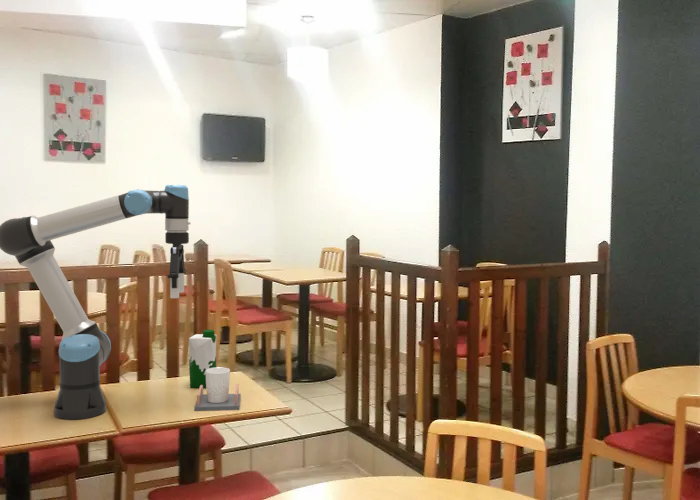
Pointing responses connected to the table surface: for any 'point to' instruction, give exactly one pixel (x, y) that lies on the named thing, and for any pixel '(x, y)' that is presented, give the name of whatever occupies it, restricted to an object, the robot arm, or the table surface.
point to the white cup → (217, 384)
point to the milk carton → (201, 357)
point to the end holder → (230, 404)
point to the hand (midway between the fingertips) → (177, 295)
